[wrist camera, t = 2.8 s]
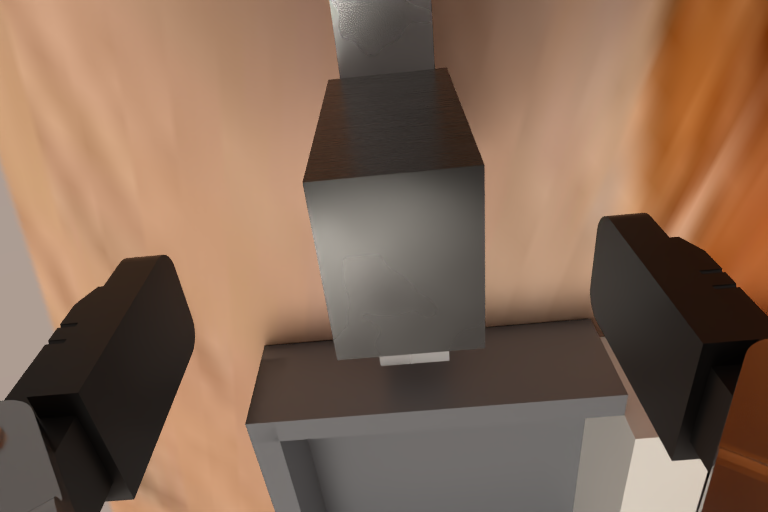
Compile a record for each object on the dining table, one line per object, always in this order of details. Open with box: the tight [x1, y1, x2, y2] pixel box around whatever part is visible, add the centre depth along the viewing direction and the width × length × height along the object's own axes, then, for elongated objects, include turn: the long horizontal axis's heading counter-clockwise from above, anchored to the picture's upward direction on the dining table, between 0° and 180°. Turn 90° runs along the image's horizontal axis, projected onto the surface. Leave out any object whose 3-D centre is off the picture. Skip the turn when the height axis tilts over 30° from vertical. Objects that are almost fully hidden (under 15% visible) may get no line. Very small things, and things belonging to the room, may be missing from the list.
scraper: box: [303, 0, 485, 366], centre depth 14 cm, size 16×3×9 cm, turn 6°
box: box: [245, 319, 628, 512], centre depth 25 cm, size 14×13×4 cm
